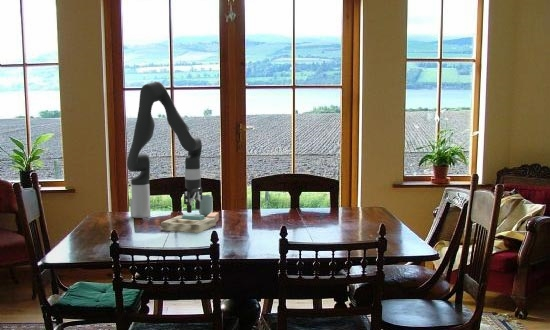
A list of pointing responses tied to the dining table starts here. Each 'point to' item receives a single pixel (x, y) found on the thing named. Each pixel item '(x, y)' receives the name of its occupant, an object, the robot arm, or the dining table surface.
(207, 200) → the cup
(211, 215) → the block
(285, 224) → the dining table surface
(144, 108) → the robot arm
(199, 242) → the dining table surface
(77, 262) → the dining table surface
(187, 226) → the slot rack
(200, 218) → the batten teal
